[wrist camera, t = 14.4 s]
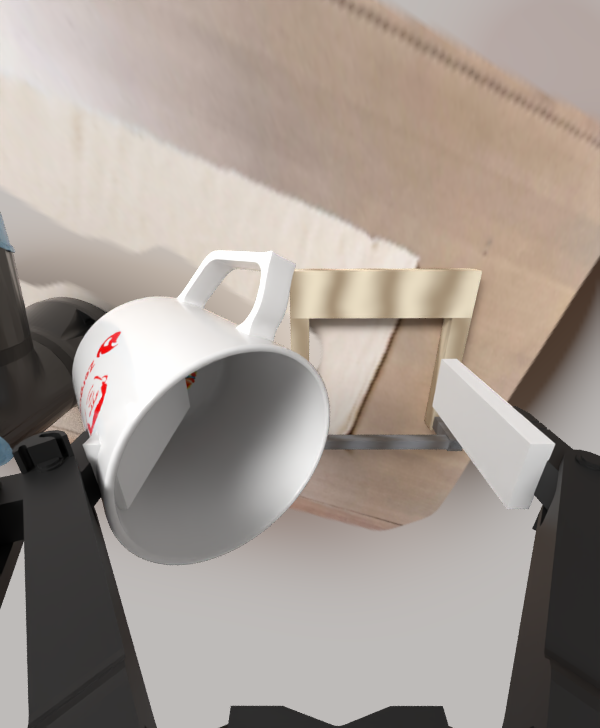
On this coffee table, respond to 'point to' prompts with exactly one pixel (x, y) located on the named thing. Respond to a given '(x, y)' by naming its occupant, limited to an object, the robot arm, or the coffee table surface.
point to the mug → (203, 413)
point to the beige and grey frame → (389, 300)
